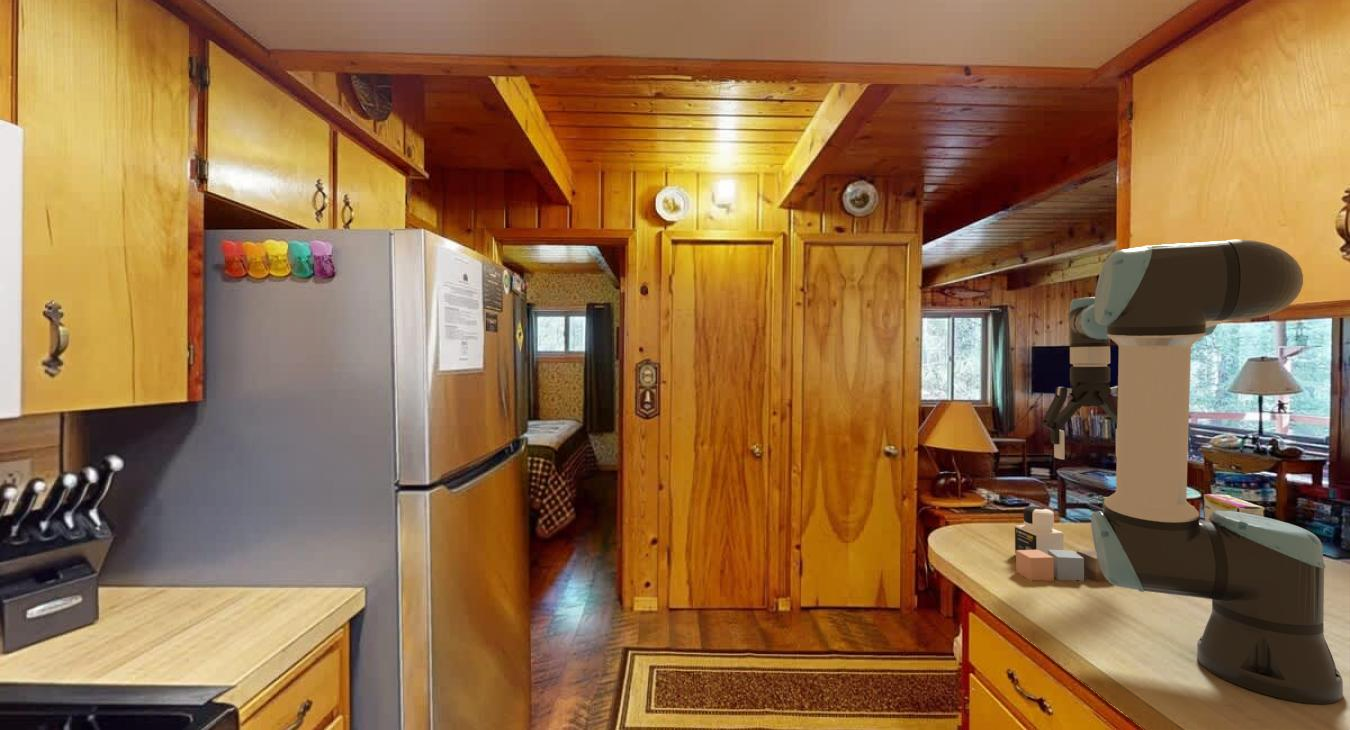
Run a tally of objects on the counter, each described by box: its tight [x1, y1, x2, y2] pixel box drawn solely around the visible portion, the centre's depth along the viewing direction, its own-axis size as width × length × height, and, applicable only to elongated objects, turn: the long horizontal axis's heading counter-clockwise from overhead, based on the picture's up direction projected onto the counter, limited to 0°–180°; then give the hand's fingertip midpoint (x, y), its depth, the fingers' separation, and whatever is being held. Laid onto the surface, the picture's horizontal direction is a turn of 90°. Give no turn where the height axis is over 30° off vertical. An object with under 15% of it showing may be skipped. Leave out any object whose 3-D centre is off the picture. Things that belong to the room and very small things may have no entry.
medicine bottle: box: [1014, 505, 1065, 555], centre depth 136 cm, size 7×7×12 cm
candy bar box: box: [1203, 493, 1266, 521], centre depth 124 cm, size 11×5×16 cm, turn 167°
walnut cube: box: [1076, 549, 1107, 582], centre depth 125 cm, size 5×5×5 cm
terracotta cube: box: [1015, 550, 1055, 581], centre depth 126 cm, size 5×5×5 cm
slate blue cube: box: [1048, 549, 1085, 582], centre depth 125 cm, size 5×5×5 cm
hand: (1090, 458), depth 132 cm, fingers open, 13 cm apart
